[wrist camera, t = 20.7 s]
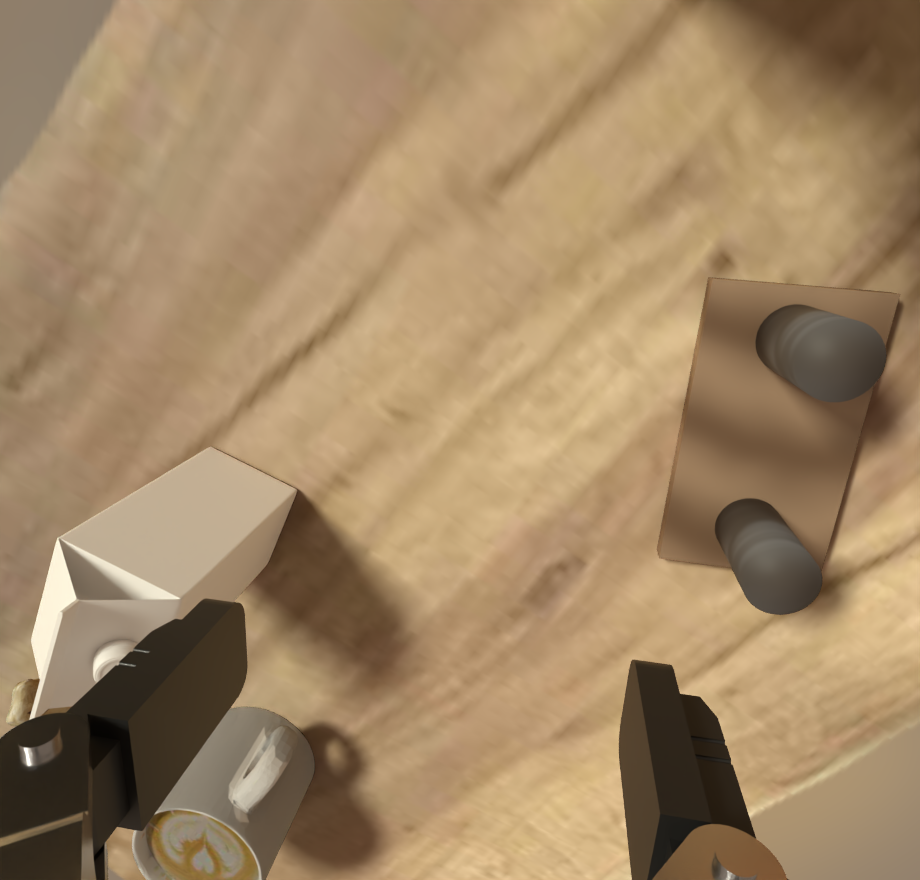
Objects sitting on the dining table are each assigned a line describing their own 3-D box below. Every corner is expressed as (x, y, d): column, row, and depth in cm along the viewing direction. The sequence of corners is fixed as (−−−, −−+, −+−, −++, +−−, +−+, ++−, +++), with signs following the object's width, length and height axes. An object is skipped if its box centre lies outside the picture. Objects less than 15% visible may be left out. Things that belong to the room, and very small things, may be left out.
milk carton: (184, 522, 49) (-36, 690, 31) (211, 444, 46) (-11, 576, 28) (268, 564, 49) (96, 756, 31) (299, 488, 46) (132, 648, 28)
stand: (708, 277, 38) (744, 288, 30) (889, 292, 36) (974, 307, 29) (656, 549, 43) (676, 616, 36) (812, 570, 42) (865, 643, 35)
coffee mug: (261, 817, 57) (201, 932, 48) (182, 740, 56) (105, 843, 46) (367, 752, 53) (324, 864, 43) (285, 667, 51) (222, 764, 42)
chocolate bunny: (62, 658, 55) (-42, 746, 46) (80, 587, 52) (-27, 665, 43) (120, 686, 55) (28, 780, 46) (141, 616, 52) (47, 701, 43)
